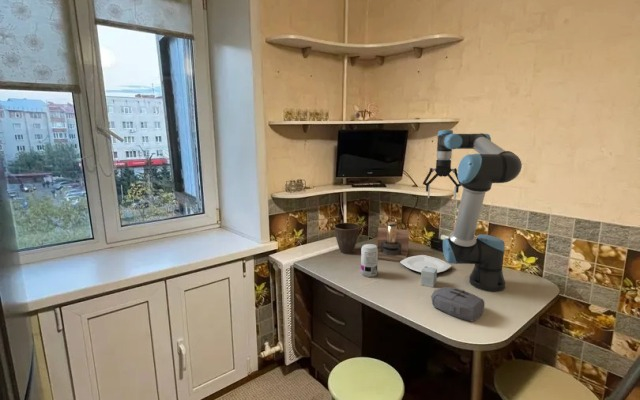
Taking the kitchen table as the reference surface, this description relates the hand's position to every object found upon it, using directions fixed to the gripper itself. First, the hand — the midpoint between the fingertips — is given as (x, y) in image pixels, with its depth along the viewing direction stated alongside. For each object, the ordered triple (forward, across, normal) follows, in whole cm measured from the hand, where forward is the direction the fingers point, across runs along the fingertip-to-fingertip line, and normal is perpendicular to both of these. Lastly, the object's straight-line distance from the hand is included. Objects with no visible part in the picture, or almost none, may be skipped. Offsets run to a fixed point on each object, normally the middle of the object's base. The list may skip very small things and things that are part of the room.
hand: (441, 198), depth 188 cm
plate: (+35, +7, +15) cm, 39 cm away
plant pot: (+35, +52, +3) cm, 63 cm away
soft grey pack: (+36, -4, +57) cm, 68 cm away
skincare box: (+36, +6, +35) cm, 51 cm away
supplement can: (+35, +34, +32) cm, 59 cm away
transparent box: (+35, +26, +2) cm, 43 cm away
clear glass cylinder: (+33, +26, +2) cm, 42 cm away
